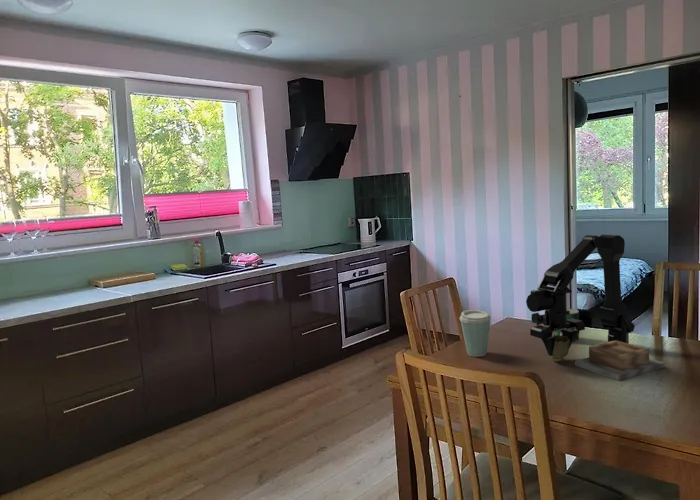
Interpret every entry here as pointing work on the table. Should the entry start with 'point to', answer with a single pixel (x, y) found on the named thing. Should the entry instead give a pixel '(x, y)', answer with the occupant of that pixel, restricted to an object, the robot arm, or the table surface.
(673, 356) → the table surface
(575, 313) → the canned tomato
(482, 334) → the disposable coffee cup
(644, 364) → the wooden square tray
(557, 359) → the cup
